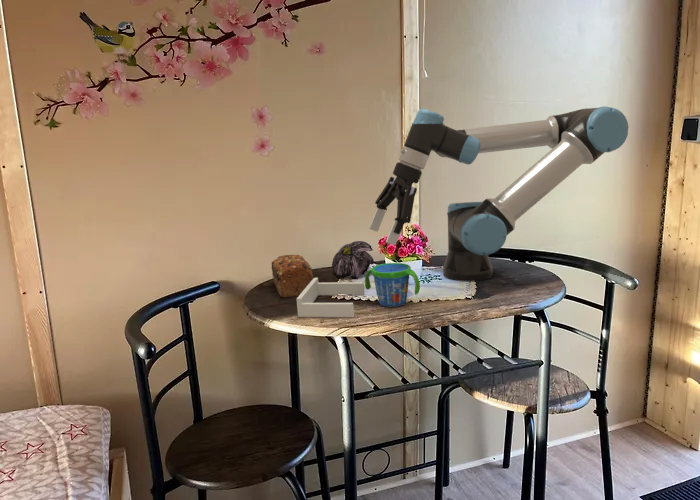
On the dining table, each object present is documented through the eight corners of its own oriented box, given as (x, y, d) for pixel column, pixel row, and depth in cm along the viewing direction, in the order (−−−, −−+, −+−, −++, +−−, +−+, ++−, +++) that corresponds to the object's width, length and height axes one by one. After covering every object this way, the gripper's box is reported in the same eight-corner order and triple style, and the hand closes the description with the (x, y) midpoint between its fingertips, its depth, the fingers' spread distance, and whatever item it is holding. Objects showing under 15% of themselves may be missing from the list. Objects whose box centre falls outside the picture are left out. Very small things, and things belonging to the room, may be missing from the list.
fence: (364, 293, 158) (363, 277, 157) (353, 317, 139) (352, 298, 138) (315, 294, 161) (314, 277, 160) (298, 317, 142) (296, 298, 141)
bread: (314, 295, 160) (312, 262, 158) (278, 299, 158) (275, 266, 156) (304, 279, 178) (302, 249, 176) (272, 283, 176) (269, 252, 174)
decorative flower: (317, 247, 178) (354, 228, 184) (323, 275, 185) (358, 255, 191) (343, 266, 168) (381, 245, 174) (348, 295, 174) (384, 273, 181)
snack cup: (357, 304, 149) (355, 268, 147) (379, 294, 157) (377, 260, 155) (407, 313, 140) (405, 275, 138) (427, 302, 148) (426, 265, 146)
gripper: (382, 154, 160) (355, 221, 164) (417, 169, 137) (386, 246, 141) (403, 163, 163) (377, 228, 167) (442, 178, 140) (410, 254, 144)
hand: (381, 236), depth 154 cm, fingers open, 13 cm apart
